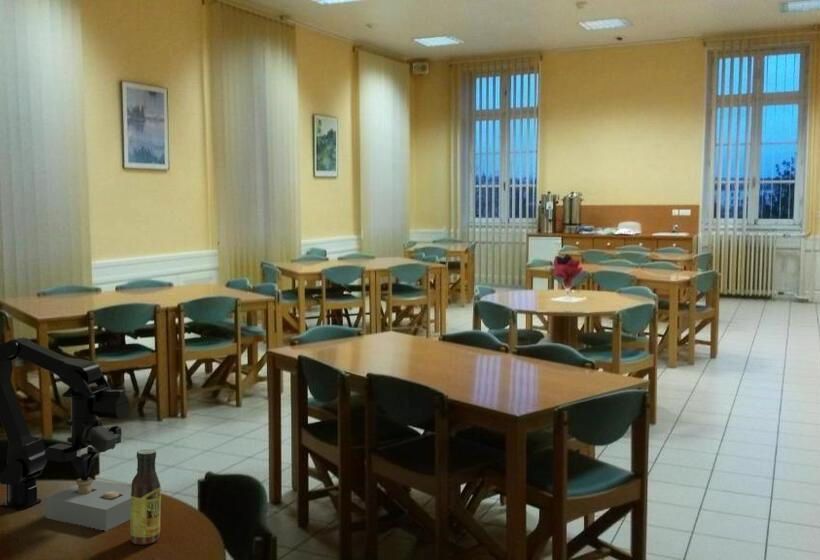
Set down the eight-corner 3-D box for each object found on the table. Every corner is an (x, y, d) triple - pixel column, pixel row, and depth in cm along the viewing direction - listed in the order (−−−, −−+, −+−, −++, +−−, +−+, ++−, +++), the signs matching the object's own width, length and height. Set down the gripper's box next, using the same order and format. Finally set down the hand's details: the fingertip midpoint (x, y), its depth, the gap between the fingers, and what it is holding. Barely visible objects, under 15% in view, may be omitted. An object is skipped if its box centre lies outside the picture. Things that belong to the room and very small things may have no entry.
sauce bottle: (150, 547, 168) (150, 457, 167) (124, 544, 170) (124, 454, 168) (166, 535, 175) (166, 448, 173) (140, 532, 176) (140, 446, 174)
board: (45, 517, 183) (45, 497, 182) (90, 498, 196) (90, 479, 195) (106, 531, 176) (106, 509, 176) (148, 510, 189) (148, 490, 189)
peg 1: (73, 503, 186) (73, 481, 186) (84, 498, 190) (84, 476, 189) (85, 506, 185) (84, 483, 185) (96, 501, 188) (96, 478, 188)
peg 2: (99, 518, 184) (99, 495, 183) (110, 513, 187) (110, 490, 186) (111, 520, 182) (111, 497, 182) (122, 515, 186) (122, 493, 185)
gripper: (80, 429, 174) (81, 498, 175) (138, 411, 191) (138, 473, 193) (42, 423, 178) (43, 490, 179) (102, 405, 195) (103, 467, 197)
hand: (84, 480), depth 187 cm, fingers closed, pressing on peg 1
